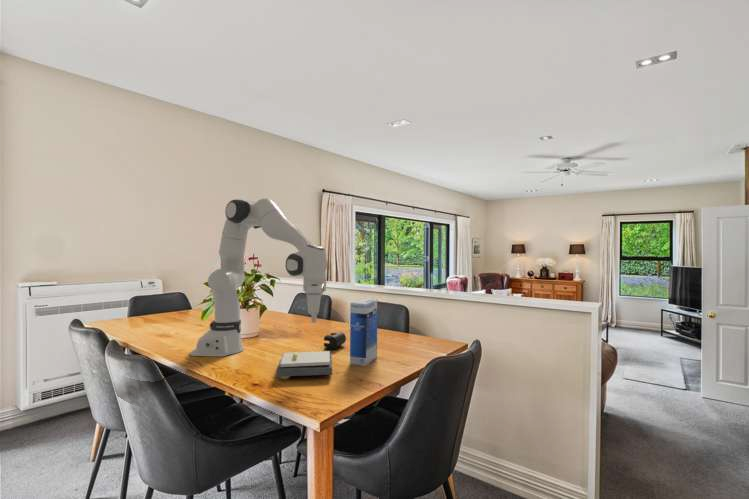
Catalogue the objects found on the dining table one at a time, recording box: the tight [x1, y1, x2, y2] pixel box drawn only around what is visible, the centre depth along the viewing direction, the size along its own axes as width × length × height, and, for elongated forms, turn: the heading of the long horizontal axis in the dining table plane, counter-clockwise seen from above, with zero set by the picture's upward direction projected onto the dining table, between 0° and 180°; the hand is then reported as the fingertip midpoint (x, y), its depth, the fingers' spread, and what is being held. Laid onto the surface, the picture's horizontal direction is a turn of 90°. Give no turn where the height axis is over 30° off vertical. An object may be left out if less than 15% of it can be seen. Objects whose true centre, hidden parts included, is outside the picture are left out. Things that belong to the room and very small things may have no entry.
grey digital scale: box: [275, 353, 333, 382], centre depth 143 cm, size 20×18×4 cm
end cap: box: [323, 331, 347, 351], centre depth 178 cm, size 10×7×7 cm
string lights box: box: [349, 298, 378, 367], centre depth 158 cm, size 13×8×26 cm, turn 157°
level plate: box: [277, 350, 331, 367], centre depth 143 cm, size 19×14×3 cm
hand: (314, 321), depth 143 cm, fingers closed
